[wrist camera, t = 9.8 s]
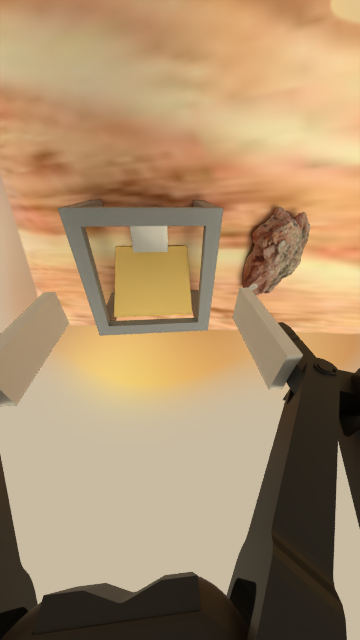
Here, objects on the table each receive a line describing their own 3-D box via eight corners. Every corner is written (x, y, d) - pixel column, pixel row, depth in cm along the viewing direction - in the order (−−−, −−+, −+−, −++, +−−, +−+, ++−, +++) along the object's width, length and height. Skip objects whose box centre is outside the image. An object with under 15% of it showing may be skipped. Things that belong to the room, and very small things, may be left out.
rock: (334, 185, 26) (346, 278, 32) (296, 192, 35) (311, 263, 41) (228, 243, 30) (257, 315, 36) (220, 235, 40) (244, 293, 46)
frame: (89, 200, 32) (57, 207, 22) (204, 200, 33) (223, 208, 23) (113, 300, 44) (99, 335, 34) (197, 297, 45) (207, 330, 35)
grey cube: (136, 243, 37) (132, 208, 33) (167, 242, 37) (165, 208, 34) (133, 252, 32) (127, 212, 28) (168, 251, 32) (166, 212, 29)
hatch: (117, 250, 37) (115, 246, 36) (186, 248, 38) (186, 245, 37) (115, 317, 34) (114, 315, 33) (191, 314, 35) (192, 312, 34)
